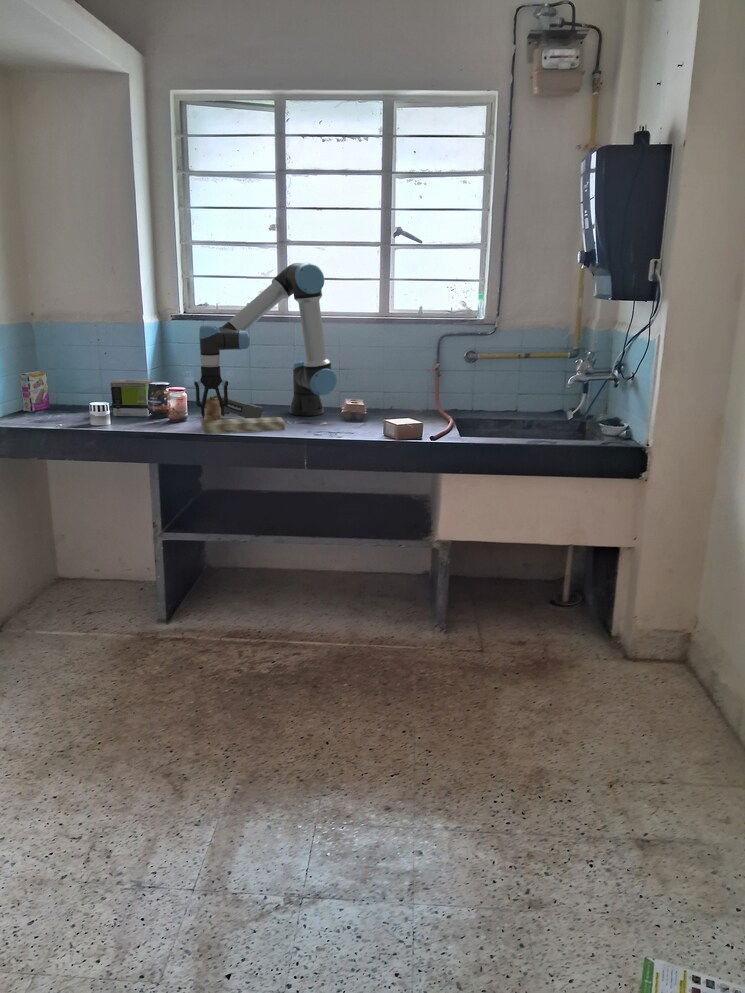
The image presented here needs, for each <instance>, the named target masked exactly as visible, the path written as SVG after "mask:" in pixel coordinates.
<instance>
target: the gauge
mask: <svg viewBox="0 0 745 993" xmlns="http://www.w3.org/2000/svg"><path fill="white" fill-rule="evenodd" d="M205 407H206V410H207V420H220V408H219V399H218V398H214V396H210V397H209V398H206V403H205Z"/></svg>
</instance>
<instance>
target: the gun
mask: <svg viewBox="0 0 745 993" xmlns="http://www.w3.org/2000/svg"><path fill="white" fill-rule="evenodd" d="M213 397H214V398H218V397H217V394H215V395H213ZM221 399H222V402H223V403H224V395H221ZM219 407H220V404H219ZM263 411H264V407H263V406H261V405H259V406H258V405H256V404H253V403H251V402H250V403H248V402H245V401H244V402H243V401H241V400H237V399H234V398H230V397H228V405H227V406H224V415H221V417H225V415H229V414H230V413H232V414H233V415H237V416H238V417H239V416H240V417H242V418H244V419H245V418H262V417H261V416H262V413H263ZM201 416H202V415H201ZM202 417H203V418H204V416H202Z"/></svg>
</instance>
